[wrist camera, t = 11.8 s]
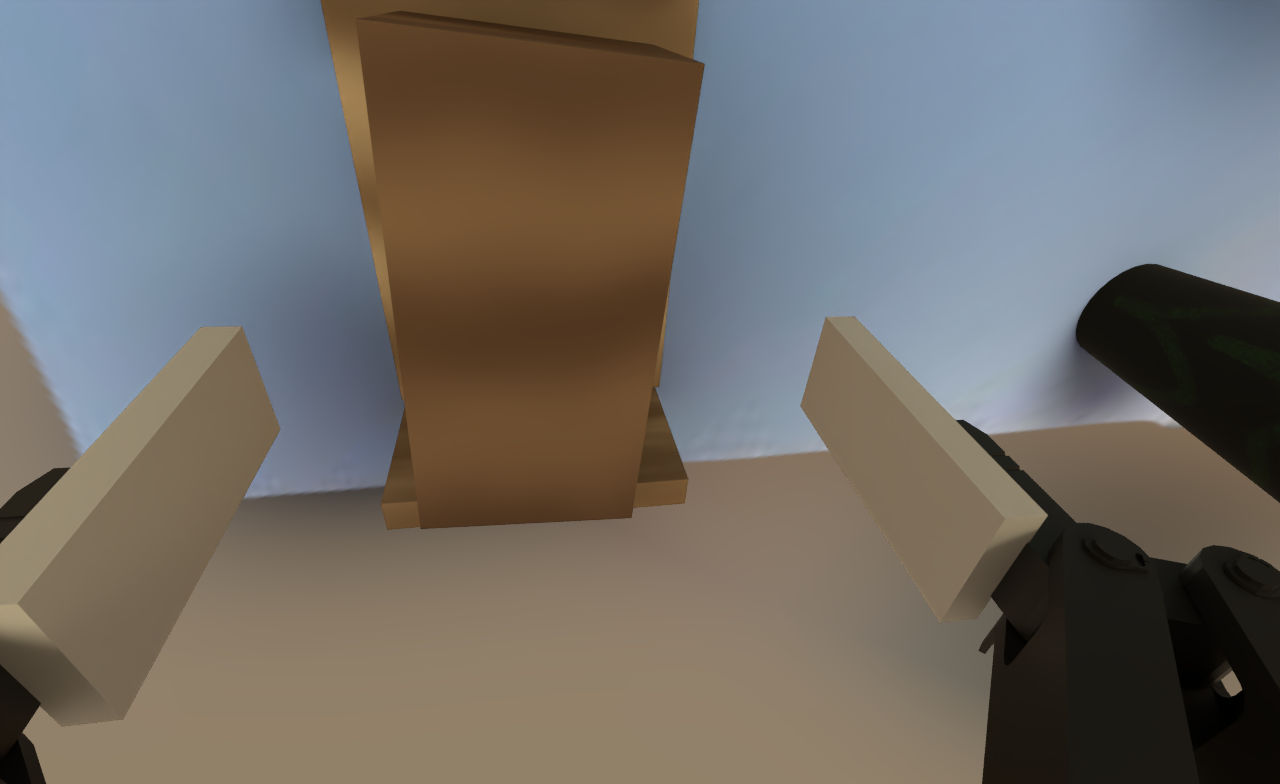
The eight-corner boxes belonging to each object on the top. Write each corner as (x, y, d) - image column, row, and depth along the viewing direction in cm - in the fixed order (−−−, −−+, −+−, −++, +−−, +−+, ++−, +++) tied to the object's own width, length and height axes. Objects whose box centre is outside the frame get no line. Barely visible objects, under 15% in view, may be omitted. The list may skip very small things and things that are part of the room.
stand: (304, -123, 17) (201, -180, 11) (699, -80, 19) (778, -109, 13) (412, 421, 28) (387, 529, 22) (652, 407, 30) (684, 503, 25)
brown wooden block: (609, 423, 25) (631, 517, 20) (437, 425, 23) (420, 528, 19) (653, 44, 17) (704, 64, 12) (399, 10, 15) (355, 19, 11)
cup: (1043, 380, 35) (1249, 531, 25) (1080, 263, 30) (1350, 392, 20) (1160, 350, 35) (1408, 488, 25) (1214, 230, 31) (1540, 342, 21)
